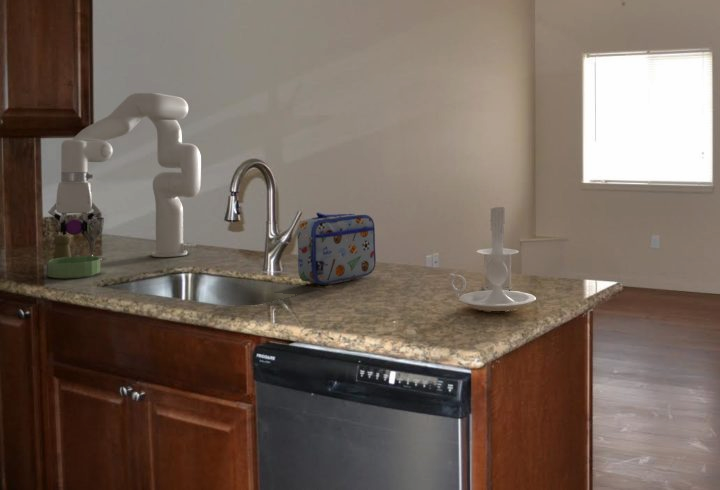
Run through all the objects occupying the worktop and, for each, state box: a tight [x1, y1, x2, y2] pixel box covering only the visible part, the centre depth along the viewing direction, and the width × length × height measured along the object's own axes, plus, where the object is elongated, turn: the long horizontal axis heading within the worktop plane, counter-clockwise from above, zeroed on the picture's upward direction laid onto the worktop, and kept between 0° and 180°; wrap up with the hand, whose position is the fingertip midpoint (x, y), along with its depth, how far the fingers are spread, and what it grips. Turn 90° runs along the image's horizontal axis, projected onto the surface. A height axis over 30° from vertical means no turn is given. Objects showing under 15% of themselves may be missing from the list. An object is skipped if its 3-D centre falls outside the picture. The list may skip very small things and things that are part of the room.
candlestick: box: [448, 205, 537, 313], centre depth 212 cm, size 21×25×28 cm
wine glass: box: [78, 216, 105, 261], centre depth 288 cm, size 8×8×15 cm
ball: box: [66, 218, 82, 236], centre depth 257 cm, size 5×5×5 cm
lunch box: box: [296, 212, 377, 286], centre depth 250 cm, size 28×10×22 cm, turn 144°
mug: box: [482, 247, 513, 291], centre depth 237 cm, size 12×8×12 cm
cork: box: [53, 234, 72, 259], centre depth 272 cm, size 6×6×11 cm
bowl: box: [46, 255, 102, 280], centre depth 257 cm, size 15×15×5 cm
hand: (74, 233), depth 257 cm, fingers closed on ball, 4 cm apart
